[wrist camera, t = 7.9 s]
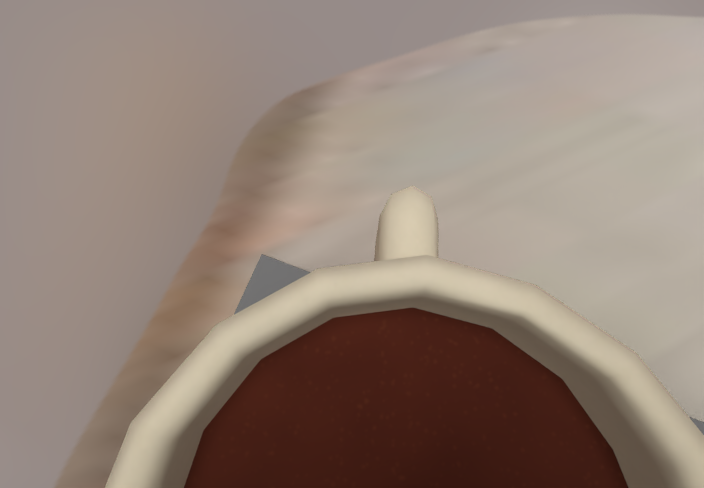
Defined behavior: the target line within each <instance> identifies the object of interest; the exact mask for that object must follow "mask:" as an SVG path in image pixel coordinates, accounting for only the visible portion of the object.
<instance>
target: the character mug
mask: <svg viewBox="0 0 704 488" xmlns="http://www.w3.org/2000/svg"><path fill="white" fill-rule="evenodd" d="M105 488H704V435H703V434H702V433H701V431H700V430H699V429H698V428H697V426H696V425H695V424H694V423H693V421H692V420H691V419H690V418H689V417H688V415H687V414H686V413H685V412H684V410H683V409H682V408H681V407H680V406H679V404H678V403H677V402H676V401H675V399H674V398H673V397H672V396H671V395H670V393H669V392H668V391H667V390H666V388H665V387H664V386H663V385H662V383H661V382H660V381H659V380H658V379H657V377H656V376H655V375H654V374H653V372H652V371H651V370H650V369H649V368H648V366H647V365H646V364H645V363H644V361H643V360H642V359H641V358H640V357H639V355H638V354H637V353H636V352H634V351H633V350H631V349H630V348H628V347H627V346H625V345H624V344H622V343H621V342H620V341H618V340H617V339H615V338H614V337H612V336H611V335H609V334H608V333H606V332H605V331H603V330H602V329H600V328H599V327H597V326H596V325H594V324H593V323H591V322H590V321H588V320H587V319H585V318H584V317H582V316H581V315H580V314H578V313H577V312H575V311H574V310H572V309H571V308H569V307H568V306H566V305H565V304H563V303H562V302H560V301H559V300H557V299H556V298H554V297H553V296H551V295H550V294H548V293H547V292H545V291H544V290H543V289H541V288H540V287H538V286H537V285H534V284H530V283H527V282H523V281H519V280H516V279H512V278H509V277H505V276H501V275H498V274H494V273H491V272H487V271H483V270H480V269H476V268H473V267H469V266H465V265H462V264H458V263H455V262H451V261H447V260H444V259H440V258H438V218H437V214H436V211H435V207H434V204H433V200H432V197H431V196H430V195H428V194H426V193H424V192H423V191H421V190H419V189H417V188H416V187H414V186H411V187H408V188H406V189H403V190H401V191H398V192H396V193H393V194H391V196H390V197H389V199H388V201H387V203H386V205H385V207H384V209H383V211H382V213H381V214H380V218H379V224H378V231H377V237H376V245H375V258H374V262H366V263H358V264H350V265H343V266H335V267H327V268H319V269H316V270H314V271H313V272H311V273H309V274H307V275H305V276H303V277H302V278H300V279H298V280H296V281H294V282H293V283H291V284H289V285H287V286H285V287H283V288H282V289H280V290H278V291H276V292H274V293H273V294H271V295H269V296H267V297H265V298H263V299H262V300H260V301H258V302H256V303H254V304H253V305H251V306H249V307H247V308H245V309H243V310H242V311H240V312H238V313H236V314H234V315H233V316H231V317H229V318H227V319H225V320H223V321H222V322H220V323H218V324H216V325H215V326H214V328H213V329H212V330H211V331H210V332H209V333H208V334H207V336H206V337H205V338H204V339H203V340H202V341H201V342H200V344H199V345H198V346H197V347H196V348H195V349H194V351H193V352H192V353H191V354H190V355H189V356H188V357H187V359H186V360H185V361H184V362H183V363H182V364H181V365H180V367H179V368H178V369H177V370H176V371H175V372H174V373H173V375H172V376H171V377H170V378H169V379H168V380H167V382H166V383H165V384H164V385H163V386H162V387H161V388H160V390H159V391H158V392H157V393H156V394H155V395H154V396H153V398H152V399H151V400H150V401H149V402H148V403H147V405H146V406H145V407H144V408H143V409H142V410H141V411H140V413H139V414H138V415H137V416H136V417H135V418H134V419H133V421H132V422H131V424H130V426H129V429H128V431H127V434H126V436H125V439H124V441H123V444H122V446H121V449H120V451H119V454H118V456H117V459H116V461H115V464H114V466H113V469H112V471H111V474H110V476H109V479H108V481H107V484H106V486H105Z"/></svg>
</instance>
